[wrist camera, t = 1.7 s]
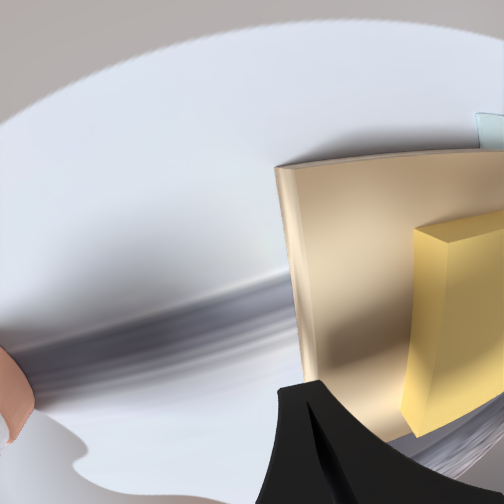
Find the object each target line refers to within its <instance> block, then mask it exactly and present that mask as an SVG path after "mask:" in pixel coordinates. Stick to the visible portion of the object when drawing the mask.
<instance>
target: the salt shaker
mask: <svg viewBox="0 0 504 504" xmlns="http://www.w3.org/2000/svg"><path fill="white" fill-rule="evenodd" d="M34 405H35V398H34V394H33V391H32V388H31V386H30V384H29V382H28V380H27V378H26V376H25V374H24V373H23V372H22V370H21V369H20V368H19V366H18V365H17V363H16V362H15V361H14V360H13V359H12V358H11V357H10V356H9V354H8V353H7V352H6V351H5V350H4V349H3V348H2V347H0V455H1V453H2V451H3V449H4V447H5V445H6V444H10V443H12V442H13V441H14V440H15V439H16V438H17V436H18V435H19V433H20V431H21V430H22V428H23V426H24V424H25V423H26V421H27V419H28V418H29V416H30V415H31V413H32V411H33V410H34Z"/></svg>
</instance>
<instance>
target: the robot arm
mask: <svg viewBox="0 0 504 504" xmlns="http://www.w3.org/2000/svg"><path fill="white" fill-rule="evenodd" d="M277 394H278V422H277V428H276V435H275V441H274V446H273V450H272V454H271V458H270V462H269V466H268V470H267V473H266V476H265V479H264V482H263V485H262V488H261V490H260V493H259V496H258V498H257V500H256V503H255V504H504V495H503V494H502V493H500V492H495V491H491V490H486V489H482V488H478V487H475V486H471V485H468V484H465V483H462V482H459V481H456V480H454V479H451V478H448V477H446V476H444V475H442V474H439V473H437V472H435V471H433V470H431V469H429V468H426V467H424V466H422V465H420V464H419V463H417V462H415V461H413V460H412V459H410V458H408V457H406V456H405V455H403V454H402V453H400V452H398V451H397V450H395V449H394V448H392V447H391V446H390V445H388V444H387V443H385V442H384V441H383V440H381V439H380V438H379V437H378V436H376V435H375V434H374V433H372V432H371V431H370V430H369V429H368V428H366V427H365V426H364V425H363V424H362V423H361V422H360V421H359V420H358V419H356V418H355V417H354V416H353V415H352V414H351V413H350V412H349V411H348V410H347V409H346V408H345V407H344V406H343V405H342V404H341V403H340V402H339V401H338V400H337V398H336V397H335V396H334V395H333V394H332V393H331V392H330V390H329V389H328V388H327V387H326V385H325V384H324V383H323V381H321V380H319V379H318V380H314V381H310V382H306V383H301V384H297V385H292V386H288V387H283V388H280V389H279V390H278V391H277Z"/></svg>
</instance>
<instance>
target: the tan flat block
mask: <svg viewBox="0 0 504 504" xmlns="http://www.w3.org/2000/svg"><path fill="white" fill-rule="evenodd" d="M274 170H275V176H276V182H277V188H278V195H279V201H280V207H281V213H282V220H283V226H284V233H285V239H286V246H287V253H288V260H289V267H290V274H291V281H292V288H293V296H294V303H295V311H296V319H297V327H298V335H299V343H300V351H301V360H302V368H303V377H304V383H306V382H310V381H314V380H318V379H319V380H321V381H323V383H324V384H325V385H326V387H327V388H328V389H329V390H330V392H331V393H332V394H333V395H334V396H335V397H336V398H337V400H338V401H339V402H340V403H341V404H342V405H343V406H344V407H345V408H346V409H347V410H348V411H349V412H350V413H351V414H352V415H353V416H354V417H355V418H356V419H358V420H359V421H360V422H361V423H362V424H363V425H364V426H365V427H366V428H368V429H369V430H370V431H371V432H372V433H374V434H375V435H376V436H378V437H379V438H380V439H381V440H383V441H384V442H385V443H387V442H389V441H392V440H395V439H397V438H400V437H402V436H405V435H407V434H410V433H412V432H413V431H412V429H411V428H410V426H409V425H408V423H407V421H406V420H405V418H404V417H403V415H402V414H401V412H400V407H401V402H402V396H403V390H404V384H405V377H406V370H407V362H408V354H409V345H410V335H411V323H412V308H413V288H414V228H419V227H424V226H429V225H434V224H439V223H444V222H448V221H453V220H458V219H463V218H468V217H473V216H478V215H482V214H487V213H492V212H497V211H502V210H504V150H501V149H483V148H474V149H445V150H426V151H410V152H397V153H385V154H375V155H365V156H355V157H346V158H338V159H330V160H322V161H314V162H307V163H300V164H293V165H286V166H280V167H274Z"/></svg>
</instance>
